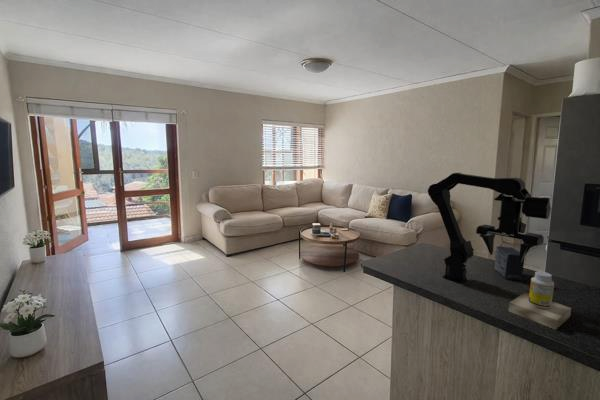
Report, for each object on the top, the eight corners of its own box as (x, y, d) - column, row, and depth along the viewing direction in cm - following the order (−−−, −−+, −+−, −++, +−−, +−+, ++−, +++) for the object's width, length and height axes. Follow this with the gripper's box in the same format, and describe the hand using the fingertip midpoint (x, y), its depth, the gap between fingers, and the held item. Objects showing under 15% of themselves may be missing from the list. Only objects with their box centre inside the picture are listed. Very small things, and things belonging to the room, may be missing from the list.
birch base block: (508, 311, 95) (509, 302, 94) (524, 300, 101) (525, 292, 101) (555, 329, 85) (557, 320, 84) (570, 317, 91) (571, 307, 91)
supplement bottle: (534, 299, 96) (538, 268, 95) (554, 307, 91) (559, 275, 90) (524, 302, 94) (528, 271, 92) (544, 311, 89) (549, 278, 87)
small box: (523, 280, 117) (526, 255, 115) (504, 279, 118) (507, 254, 117) (510, 270, 127) (513, 246, 126) (493, 269, 129) (495, 245, 127)
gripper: (552, 216, 99) (547, 261, 101) (492, 208, 114) (488, 247, 117) (539, 220, 93) (533, 268, 95) (477, 211, 108) (473, 252, 111)
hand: (505, 258), depth 105 cm, fingers open, 9 cm apart
